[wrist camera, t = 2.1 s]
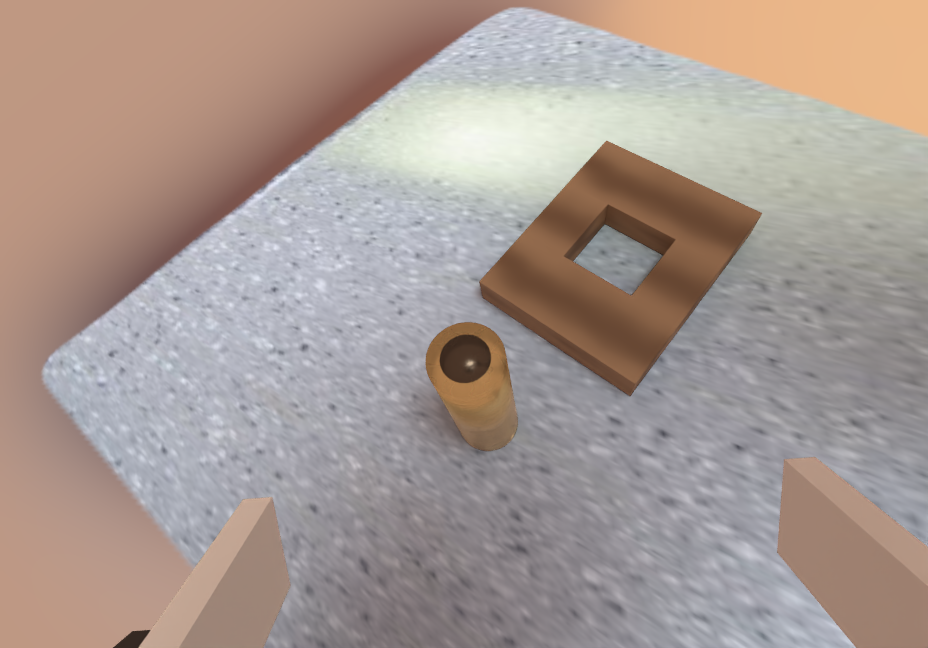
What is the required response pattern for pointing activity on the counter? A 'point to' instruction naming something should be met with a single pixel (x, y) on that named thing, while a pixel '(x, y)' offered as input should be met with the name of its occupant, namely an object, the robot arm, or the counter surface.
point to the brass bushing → (474, 383)
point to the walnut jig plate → (597, 301)
